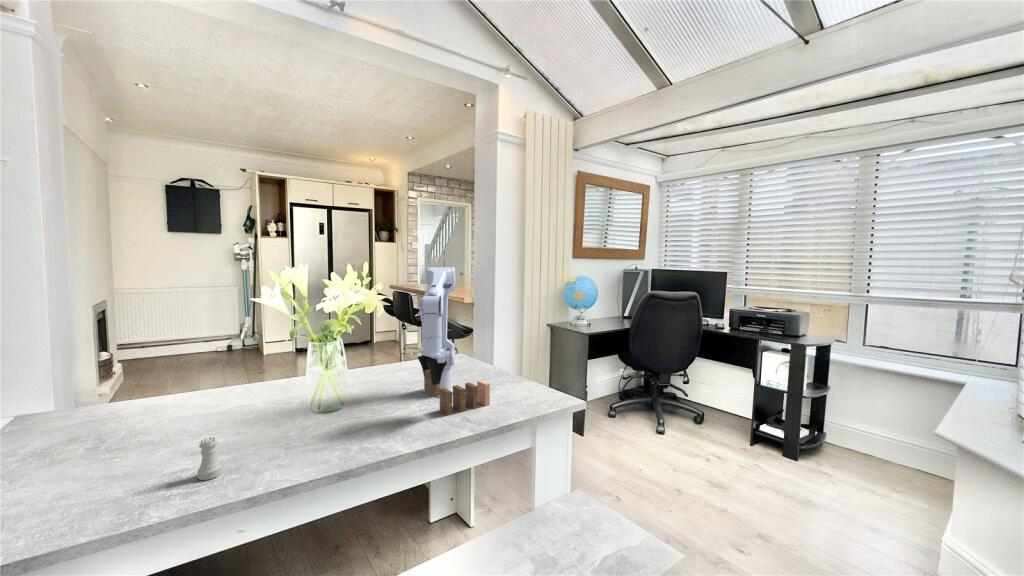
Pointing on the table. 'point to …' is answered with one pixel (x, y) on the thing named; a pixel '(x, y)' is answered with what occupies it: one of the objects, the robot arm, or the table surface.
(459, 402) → the domino
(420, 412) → the table surface
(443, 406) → the domino
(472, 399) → the domino
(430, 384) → the domino
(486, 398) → the domino
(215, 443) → the rook chess piece
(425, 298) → the robot arm
